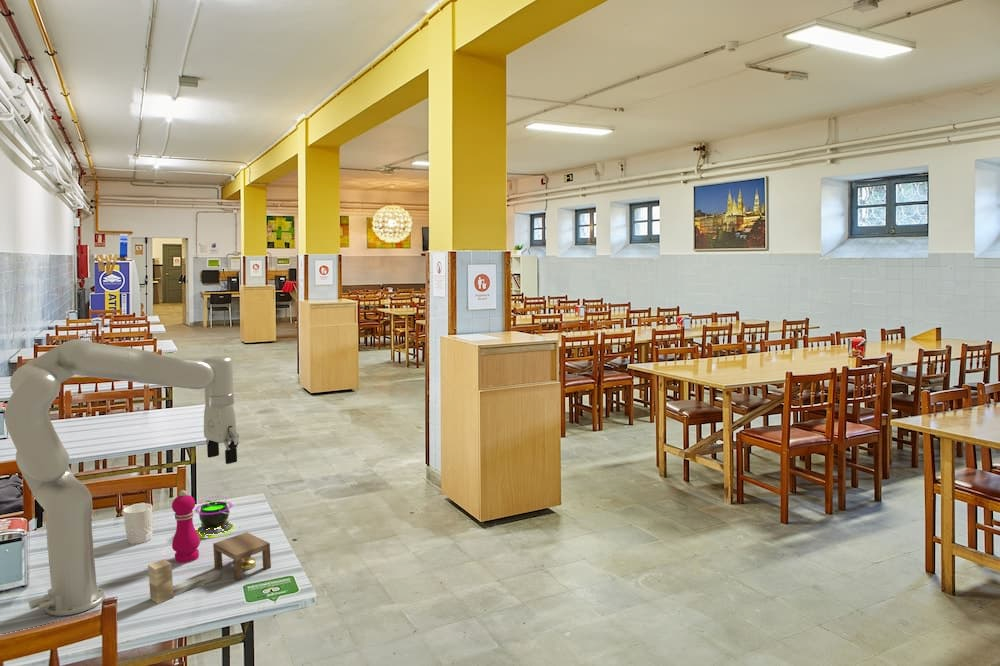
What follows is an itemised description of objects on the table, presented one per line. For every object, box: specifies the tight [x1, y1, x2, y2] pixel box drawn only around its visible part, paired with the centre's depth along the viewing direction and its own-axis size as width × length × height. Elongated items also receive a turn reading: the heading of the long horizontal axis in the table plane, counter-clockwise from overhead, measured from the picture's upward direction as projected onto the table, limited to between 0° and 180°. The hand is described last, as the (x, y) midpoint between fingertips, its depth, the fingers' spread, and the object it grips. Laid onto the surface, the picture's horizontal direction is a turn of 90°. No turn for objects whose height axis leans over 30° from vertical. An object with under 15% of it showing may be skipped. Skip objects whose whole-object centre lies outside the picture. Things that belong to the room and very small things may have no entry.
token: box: [241, 556, 257, 572], centre depth 193 cm, size 5×5×2 cm
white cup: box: [122, 503, 154, 545], centre depth 211 cm, size 8×8×10 cm
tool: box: [147, 559, 222, 605], centre depth 180 cm, size 17×4×9 cm, turn 140°
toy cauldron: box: [193, 492, 234, 539], centre depth 219 cm, size 15×15×11 cm
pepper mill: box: [171, 489, 201, 564], centre depth 197 cm, size 7×7×20 cm
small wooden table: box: [212, 531, 272, 581], centre depth 192 cm, size 10×12×7 cm
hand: (222, 459), depth 197 cm, fingers open, 9 cm apart
